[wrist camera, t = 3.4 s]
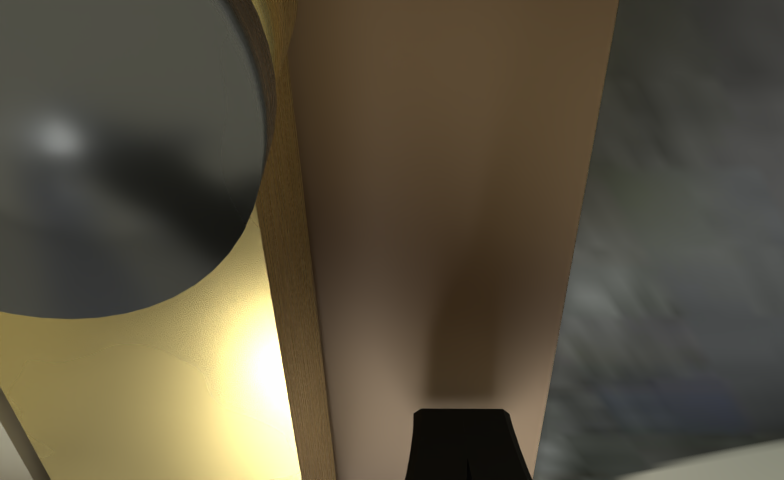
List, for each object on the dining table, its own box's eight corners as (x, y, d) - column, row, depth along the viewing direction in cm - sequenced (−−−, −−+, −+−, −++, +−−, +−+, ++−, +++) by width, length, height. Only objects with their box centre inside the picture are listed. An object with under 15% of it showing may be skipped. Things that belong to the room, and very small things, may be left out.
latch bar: (-140, -242, 6) (-482, -178, 4) (289, -250, 6) (213, -192, 4) (163, 518, 13) (112, 699, 11) (357, 520, 13) (346, 702, 11)
